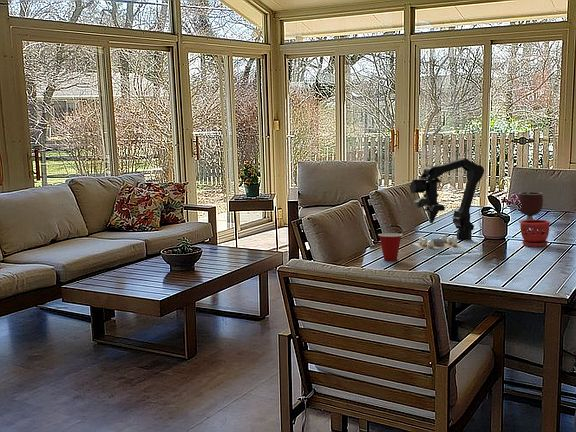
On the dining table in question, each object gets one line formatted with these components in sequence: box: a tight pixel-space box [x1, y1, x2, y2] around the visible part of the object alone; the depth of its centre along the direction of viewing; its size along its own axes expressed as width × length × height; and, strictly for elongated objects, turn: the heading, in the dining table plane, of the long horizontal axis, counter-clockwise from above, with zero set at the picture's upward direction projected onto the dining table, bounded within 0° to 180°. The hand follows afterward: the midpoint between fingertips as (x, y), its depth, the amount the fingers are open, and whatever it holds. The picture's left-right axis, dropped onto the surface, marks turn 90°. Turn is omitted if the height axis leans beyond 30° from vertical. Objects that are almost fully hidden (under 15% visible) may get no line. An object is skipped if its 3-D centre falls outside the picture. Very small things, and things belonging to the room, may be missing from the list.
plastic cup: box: [377, 232, 403, 262], centre depth 289 cm, size 11×11×12 cm
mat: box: [434, 251, 472, 257], centre depth 301 cm, size 18×10×1 cm, turn 101°
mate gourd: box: [517, 189, 544, 223], centre depth 375 cm, size 16×14×20 cm
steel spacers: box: [418, 234, 458, 250], centre depth 312 cm, size 17×14×4 cm
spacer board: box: [412, 240, 463, 250], centre depth 313 cm, size 20×15×1 cm
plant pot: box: [519, 219, 550, 248], centre depth 310 cm, size 13×13×12 cm
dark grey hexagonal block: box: [431, 238, 445, 246], centre depth 313 cm, size 7×6×2 cm
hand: (431, 223), depth 319 cm, fingers closed
